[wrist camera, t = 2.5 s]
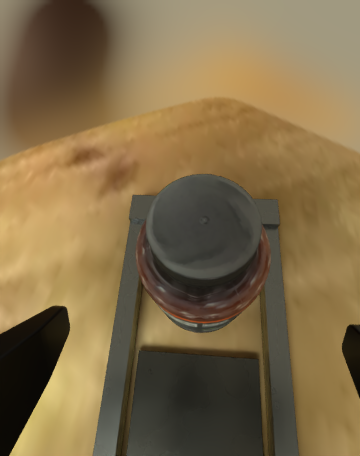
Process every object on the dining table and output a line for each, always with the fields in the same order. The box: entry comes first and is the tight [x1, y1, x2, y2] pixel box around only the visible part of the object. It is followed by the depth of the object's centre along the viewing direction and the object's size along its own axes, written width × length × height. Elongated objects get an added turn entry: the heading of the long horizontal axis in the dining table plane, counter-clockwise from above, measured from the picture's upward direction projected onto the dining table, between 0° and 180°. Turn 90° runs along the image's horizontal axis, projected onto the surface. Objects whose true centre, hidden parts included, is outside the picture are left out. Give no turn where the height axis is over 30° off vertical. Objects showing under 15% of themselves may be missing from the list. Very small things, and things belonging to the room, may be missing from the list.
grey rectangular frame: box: [93, 195, 299, 456], centre depth 17 cm, size 20×11×2 cm, turn 176°
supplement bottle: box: [135, 174, 271, 333], centre depth 14 cm, size 6×6×11 cm
